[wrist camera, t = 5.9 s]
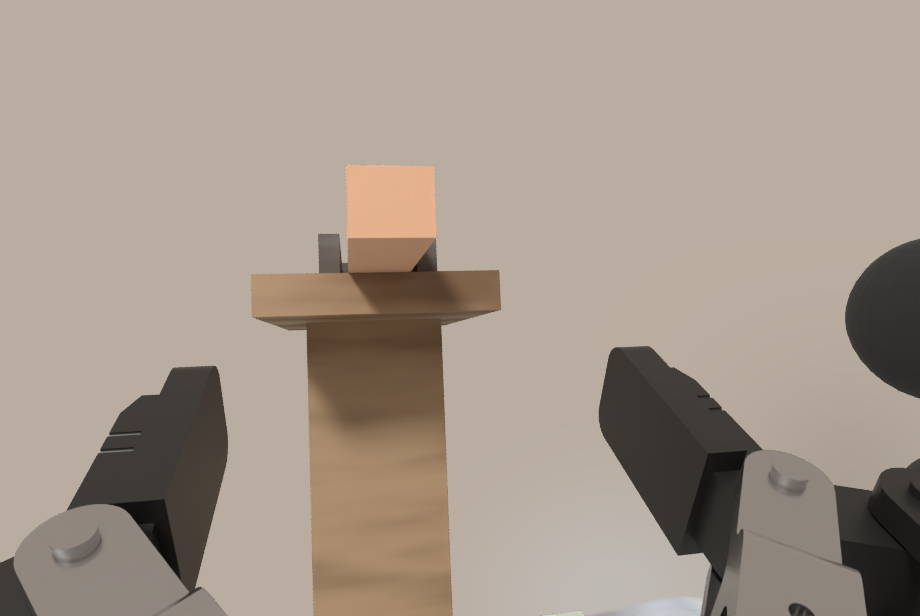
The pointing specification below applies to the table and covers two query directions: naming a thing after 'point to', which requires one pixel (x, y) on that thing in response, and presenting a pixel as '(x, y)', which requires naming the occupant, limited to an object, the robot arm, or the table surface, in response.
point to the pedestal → (568, 614)
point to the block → (389, 216)
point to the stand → (376, 425)
